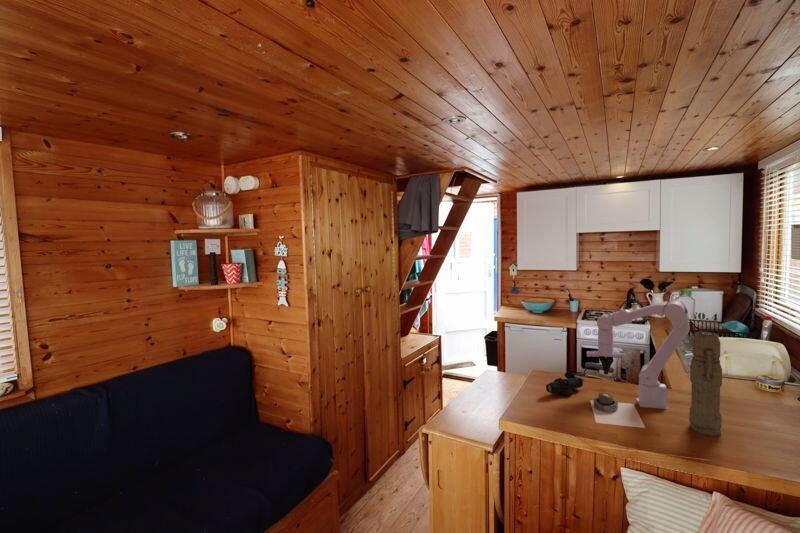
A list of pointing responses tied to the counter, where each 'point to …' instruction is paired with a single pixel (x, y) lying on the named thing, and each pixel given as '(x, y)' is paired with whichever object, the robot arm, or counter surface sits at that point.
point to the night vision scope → (565, 384)
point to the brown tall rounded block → (706, 385)
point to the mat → (619, 416)
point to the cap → (605, 399)
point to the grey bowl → (605, 406)
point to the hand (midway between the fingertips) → (605, 373)
